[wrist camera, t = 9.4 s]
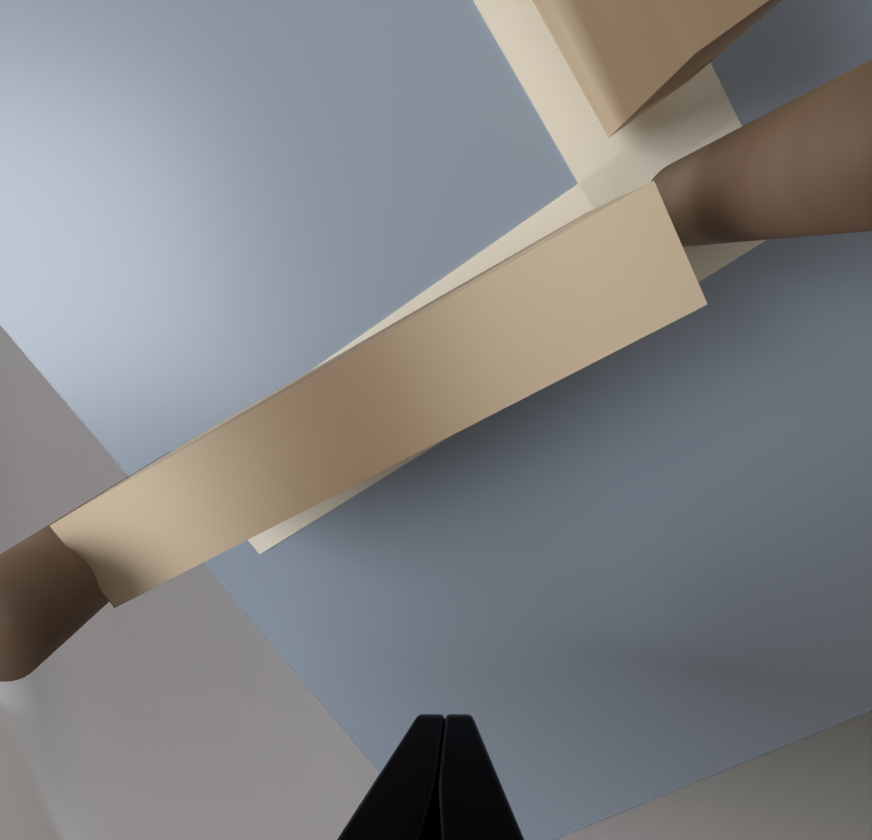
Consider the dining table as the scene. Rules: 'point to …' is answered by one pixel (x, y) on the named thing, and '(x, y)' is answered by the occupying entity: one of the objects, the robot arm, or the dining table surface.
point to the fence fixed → (739, 150)
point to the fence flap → (354, 418)
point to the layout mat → (500, 432)
